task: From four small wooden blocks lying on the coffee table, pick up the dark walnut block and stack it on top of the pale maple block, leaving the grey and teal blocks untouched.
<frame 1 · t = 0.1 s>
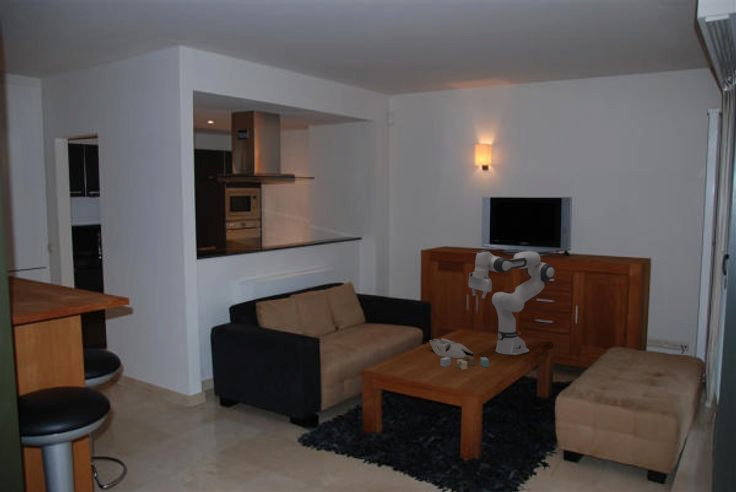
hand: (478, 296, 393), 39 cm above the table, tool pointing down, fingers open, 8 cm apart
maple block: (462, 368, 371), on the table
grey block: (445, 365, 377), on the table
teal block: (484, 365, 376), on the table
walnut block: (469, 364, 379), on the table
mask: (450, 353, 404), on the table
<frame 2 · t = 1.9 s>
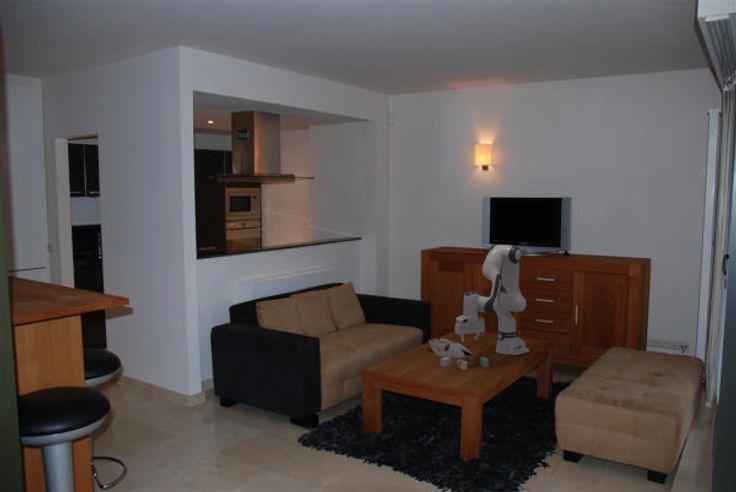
hand: (469, 340, 378), 15 cm above the table, tool pointing down, fingers open, 8 cm apart
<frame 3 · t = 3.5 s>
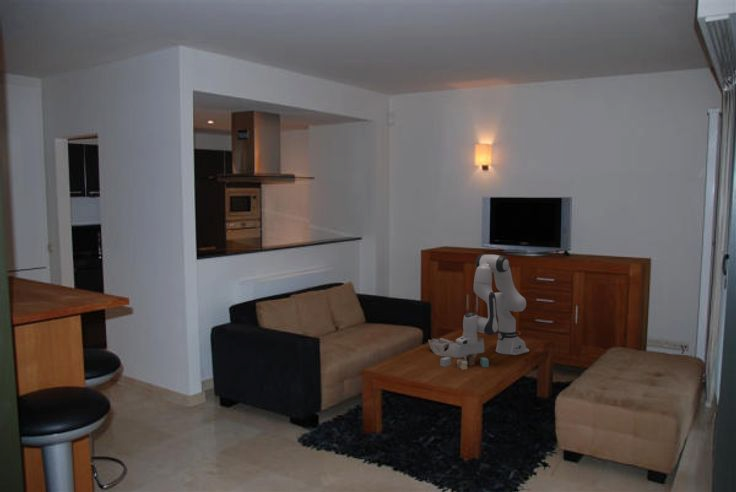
hand: (469, 361, 379), 2 cm above the table, tool pointing down, fingers closed on walnut block, 3 cm apart
walnut block: (469, 363, 379), on the table, touching gripper
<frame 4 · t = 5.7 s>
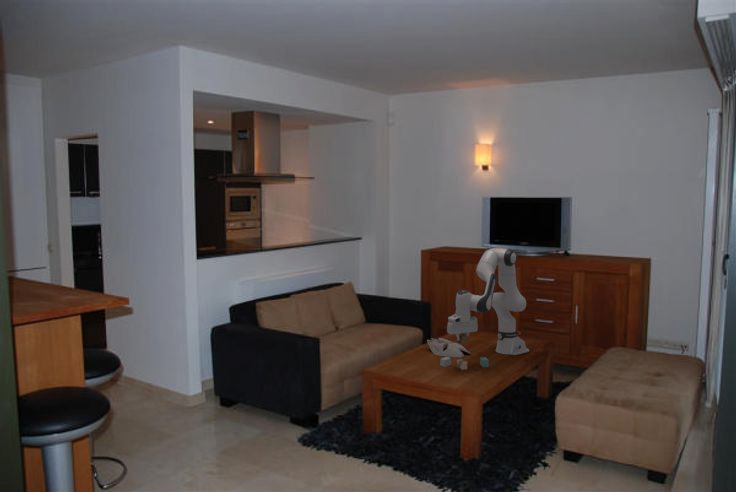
hand: (462, 340, 369), 17 cm above the table, tool pointing down, fingers closed on walnut block, 3 cm apart
walnut block: (462, 342, 369), point 16 cm above the table, touching gripper
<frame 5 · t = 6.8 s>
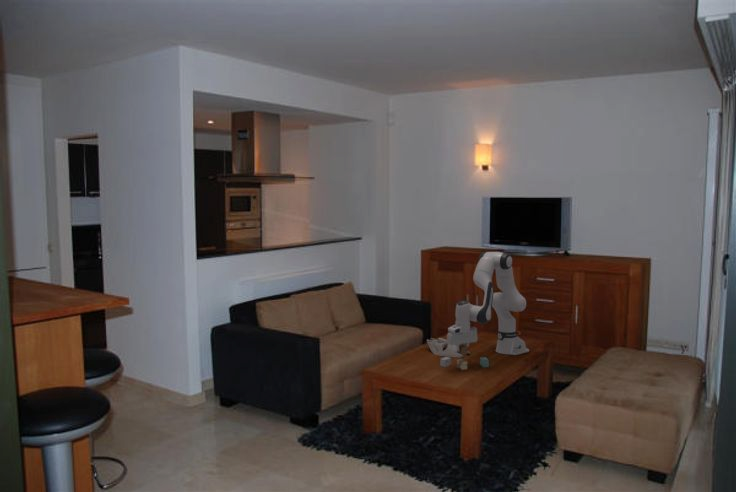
hand: (462, 350, 370), 11 cm above the table, tool pointing down, fingers closed on walnut block, 3 cm apart
walnut block: (462, 353, 370), point 9 cm above the table, touching gripper
when the fingers open (7 cm above the table, at t = 7.8 s): walnut block stays where it is, resting on maple block.
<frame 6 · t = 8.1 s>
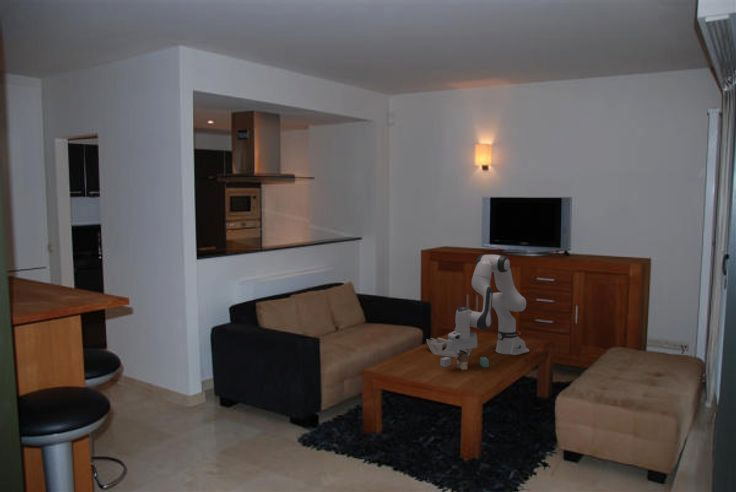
hand: (462, 356, 370), 7 cm above the table, tool pointing down, fingers open, 7 cm apart
maple block: (462, 368, 371), on the table, touching walnut block
walnut block: (462, 360, 371), point 4 cm above the table, touching maple block
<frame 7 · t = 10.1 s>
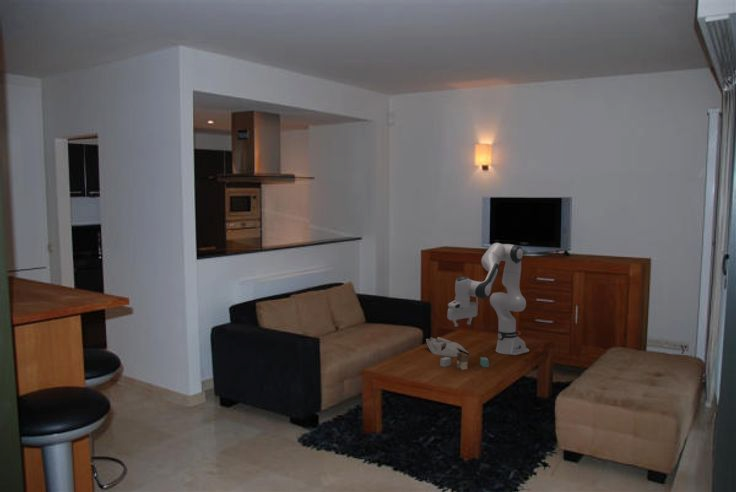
hand: (462, 325, 377), 24 cm above the table, tool pointing down, fingers open, 8 cm apart
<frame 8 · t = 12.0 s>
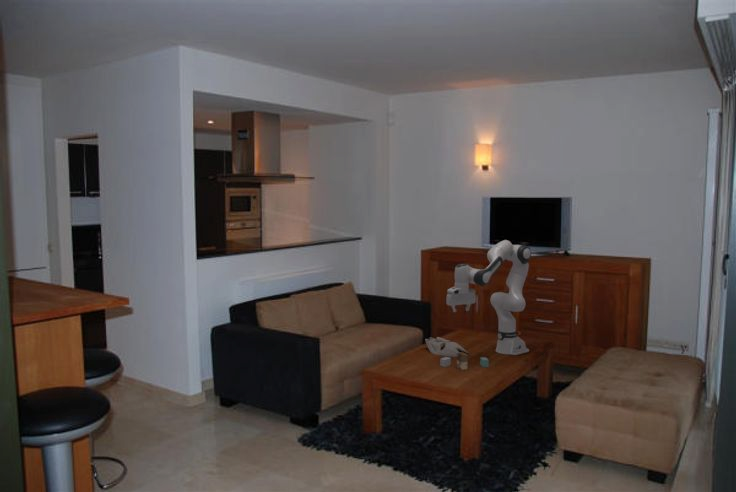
hand: (461, 311, 385), 31 cm above the table, tool pointing down, fingers open, 8 cm apart
at the end: walnut block 0.1 cm off-centre on the maple block, point 4.5 cm above the maple block's base; grey block moved 0.1 cm from its start; teal block moved 0.1 cm from its start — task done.
